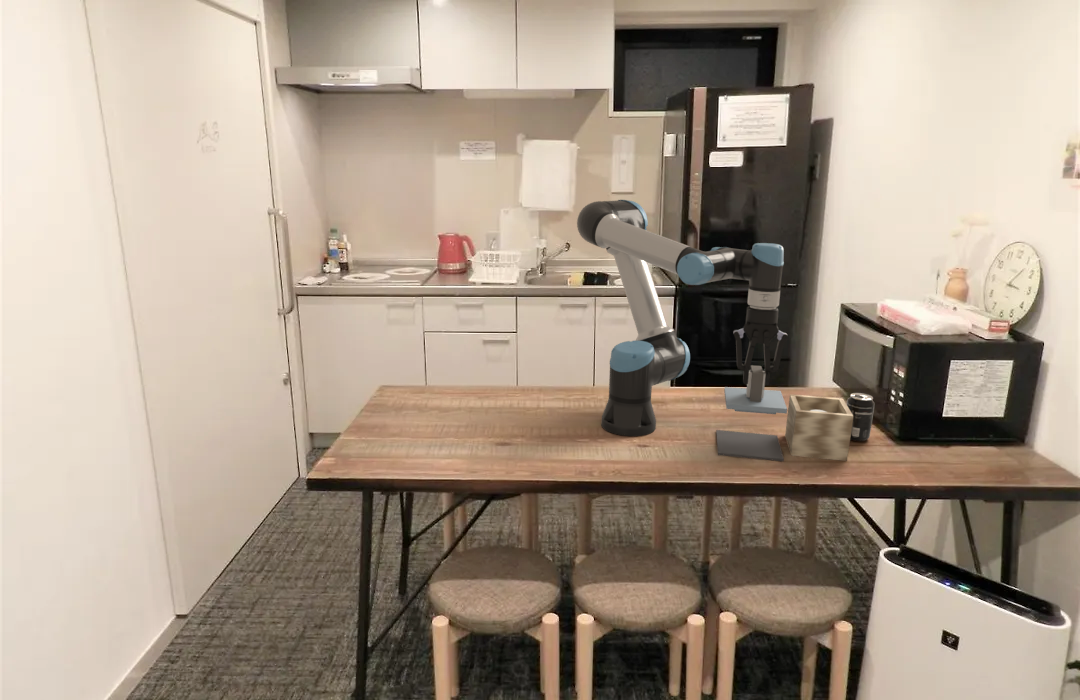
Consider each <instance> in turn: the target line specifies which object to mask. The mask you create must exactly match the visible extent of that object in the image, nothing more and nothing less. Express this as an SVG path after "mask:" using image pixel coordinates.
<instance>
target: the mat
mask: <svg viewBox="0 0 1080 700" xmlns="http://www.w3.org/2000/svg"><path fill="white" fill-rule="evenodd" d="M715 434H716V447H717V448H716V449H717V455H718V456H724V457H736V458H747V459H755V460H766V461H774V460H775V461H776V462H777V461H778V462H784V461H785V458H784V454H783V451H782V448H781V445H780V441H779V437H778V435H777V434H776V435H775V434H769V433H768V434H767V433H766V434H765V433H755V432H745V431H731V430H725V429H722V430H721V429H716V431H715Z"/></svg>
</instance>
